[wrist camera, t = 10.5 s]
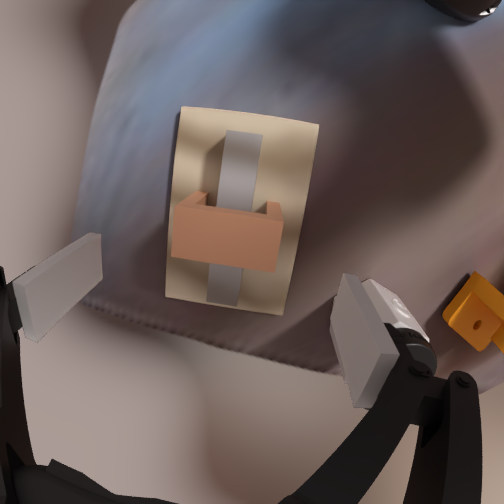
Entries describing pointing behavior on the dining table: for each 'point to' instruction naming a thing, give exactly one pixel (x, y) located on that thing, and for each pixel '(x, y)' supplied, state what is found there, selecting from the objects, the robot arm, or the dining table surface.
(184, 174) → the rail board
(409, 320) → the jar
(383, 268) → the dining table surface
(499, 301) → the bracket
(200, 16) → the dining table surface
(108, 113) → the dining table surface
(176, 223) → the clip
